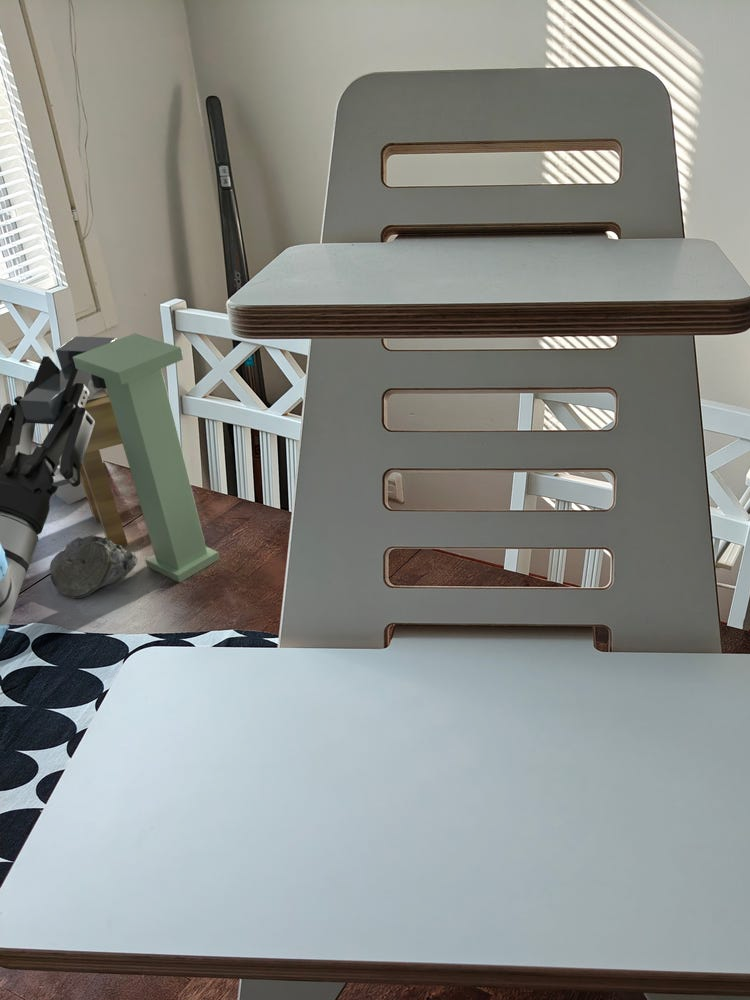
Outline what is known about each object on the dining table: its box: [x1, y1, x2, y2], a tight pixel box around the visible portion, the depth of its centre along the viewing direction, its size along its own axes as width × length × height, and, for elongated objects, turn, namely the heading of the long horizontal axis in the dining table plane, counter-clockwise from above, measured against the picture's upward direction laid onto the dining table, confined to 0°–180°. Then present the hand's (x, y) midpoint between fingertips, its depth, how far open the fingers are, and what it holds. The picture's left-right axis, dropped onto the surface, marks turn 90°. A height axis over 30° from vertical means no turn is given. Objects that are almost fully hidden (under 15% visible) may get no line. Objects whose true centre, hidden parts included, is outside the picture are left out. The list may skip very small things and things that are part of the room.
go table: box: [80, 388, 129, 547], centre depth 138 cm, size 12×12×21 cm
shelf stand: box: [73, 333, 220, 584], centre depth 126 cm, size 9×9×30 cm
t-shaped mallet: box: [19, 335, 117, 425], centre depth 125 cm, size 16×6×5 cm, turn 168°
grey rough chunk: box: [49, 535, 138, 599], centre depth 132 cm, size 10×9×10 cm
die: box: [53, 455, 104, 506], centre depth 149 cm, size 8×9×10 cm
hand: (68, 364), depth 125 cm, fingers closed on t-shaped mallet, 4 cm apart
